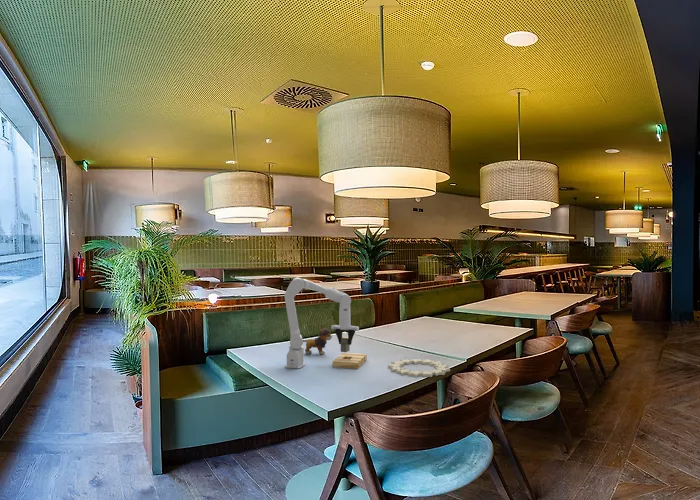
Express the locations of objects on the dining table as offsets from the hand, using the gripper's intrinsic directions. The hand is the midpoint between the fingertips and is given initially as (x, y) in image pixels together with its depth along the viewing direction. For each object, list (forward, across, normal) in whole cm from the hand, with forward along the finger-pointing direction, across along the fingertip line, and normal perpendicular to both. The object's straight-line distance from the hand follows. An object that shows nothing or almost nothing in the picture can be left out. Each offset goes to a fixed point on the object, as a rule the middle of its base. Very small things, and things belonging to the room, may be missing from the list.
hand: (345, 344), depth 227 cm
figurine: (+10, +25, -14) cm, 30 cm away
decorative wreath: (+11, -37, -5) cm, 39 cm away
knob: (+4, 0, 0) cm, 4 cm away
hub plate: (+10, -2, -2) cm, 10 cm away
